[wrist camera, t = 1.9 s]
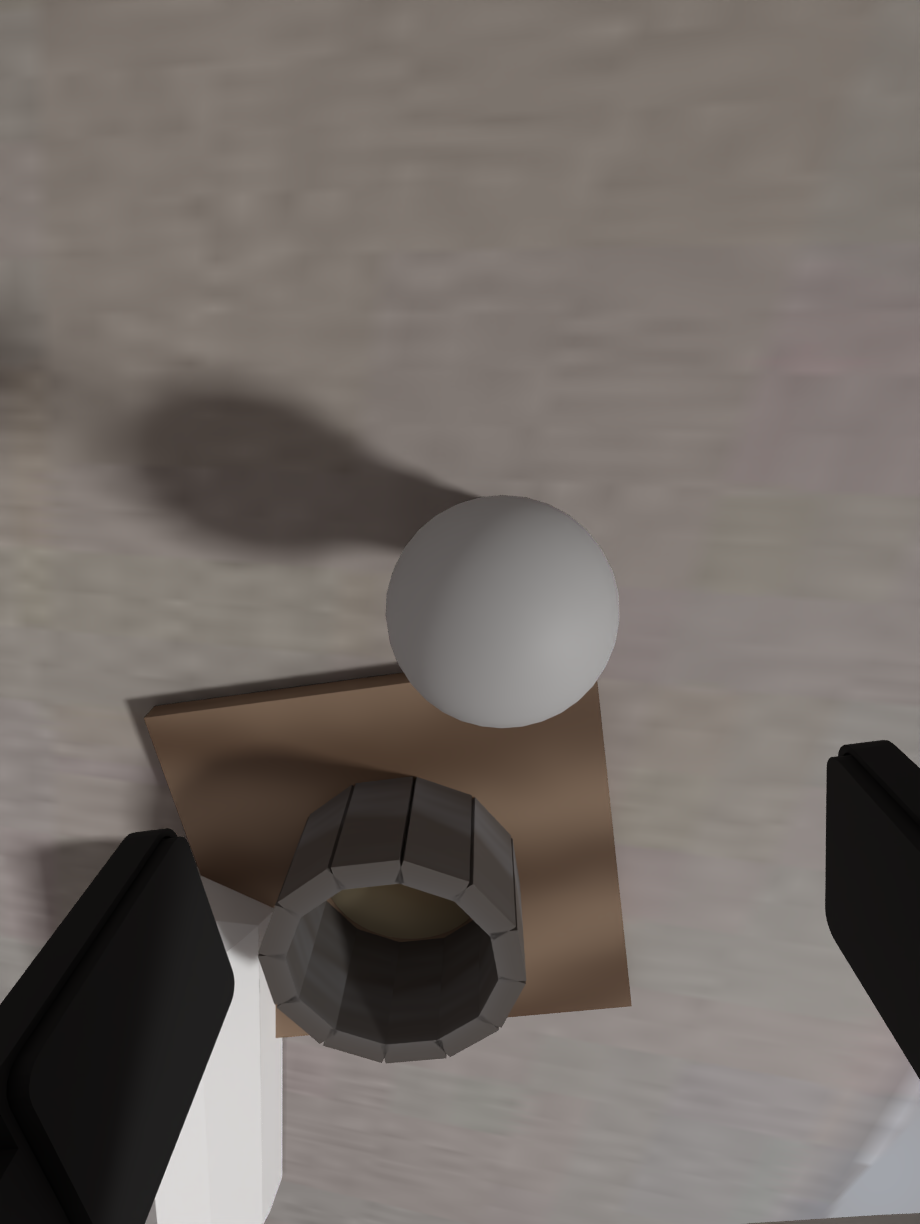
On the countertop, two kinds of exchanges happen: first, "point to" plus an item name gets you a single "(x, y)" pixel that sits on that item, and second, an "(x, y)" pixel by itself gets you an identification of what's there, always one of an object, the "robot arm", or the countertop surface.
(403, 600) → the lightbulb
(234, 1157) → the crystal
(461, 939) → the socket
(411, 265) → the countertop surface
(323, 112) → the countertop surface
